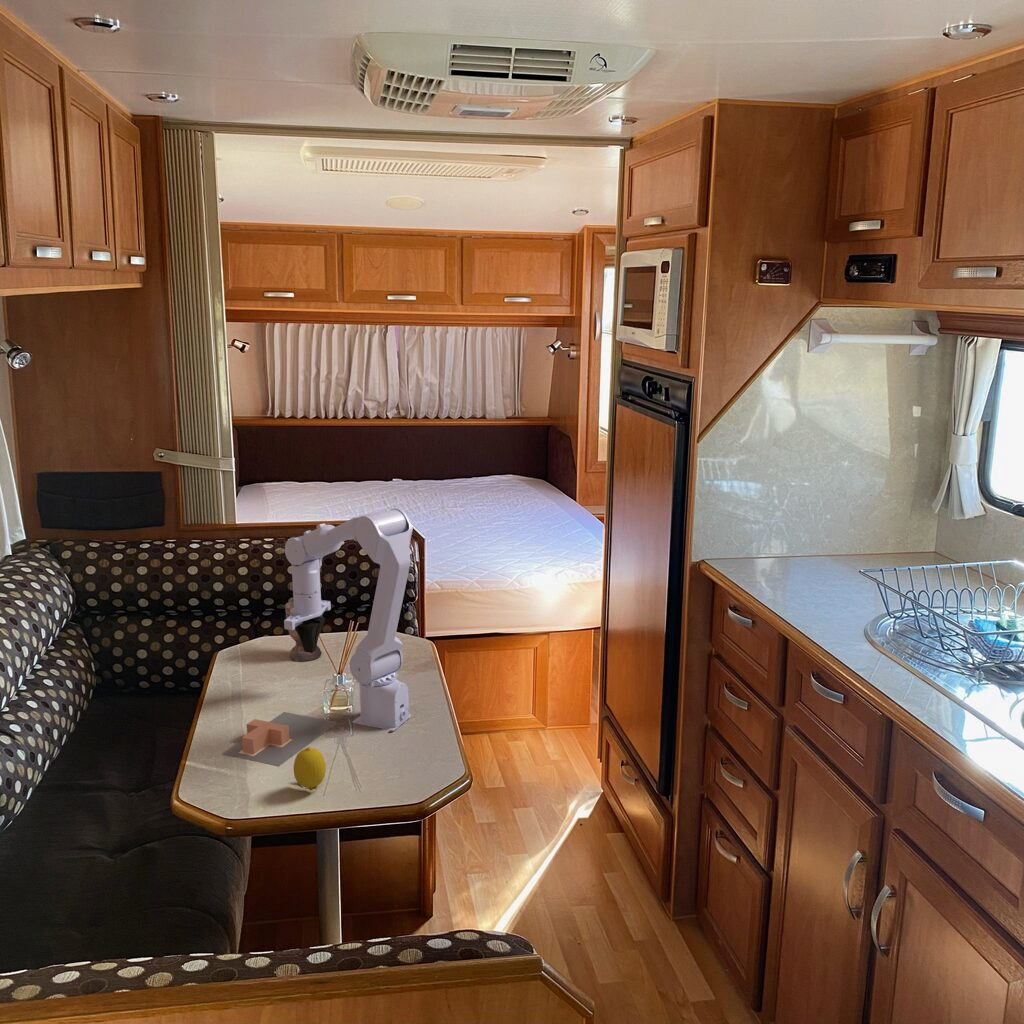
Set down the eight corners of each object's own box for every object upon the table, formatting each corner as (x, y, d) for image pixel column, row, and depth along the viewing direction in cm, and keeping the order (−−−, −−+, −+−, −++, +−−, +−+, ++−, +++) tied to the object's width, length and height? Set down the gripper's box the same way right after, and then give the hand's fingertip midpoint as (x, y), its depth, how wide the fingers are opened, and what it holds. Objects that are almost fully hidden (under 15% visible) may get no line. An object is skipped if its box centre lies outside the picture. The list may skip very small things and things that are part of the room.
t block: (255, 733, 191) (254, 719, 191) (289, 740, 188) (288, 725, 188) (231, 749, 184) (230, 734, 184) (266, 756, 181) (265, 742, 181)
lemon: (313, 778, 175) (310, 737, 173) (333, 788, 171) (331, 746, 170) (288, 790, 171) (285, 748, 169) (308, 800, 167) (306, 757, 165)
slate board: (338, 724, 196) (338, 722, 196) (279, 769, 178) (279, 766, 178) (284, 714, 201) (284, 711, 201) (221, 756, 183) (221, 753, 183)
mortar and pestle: (287, 646, 239) (282, 568, 235) (322, 643, 241) (319, 566, 237) (288, 663, 228) (283, 582, 224) (325, 660, 230) (321, 579, 226)
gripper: (310, 579, 214) (313, 637, 217) (270, 598, 201) (274, 660, 204) (337, 582, 211) (340, 642, 214) (299, 602, 198) (302, 665, 201)
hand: (309, 651), depth 209 cm, fingers closed
